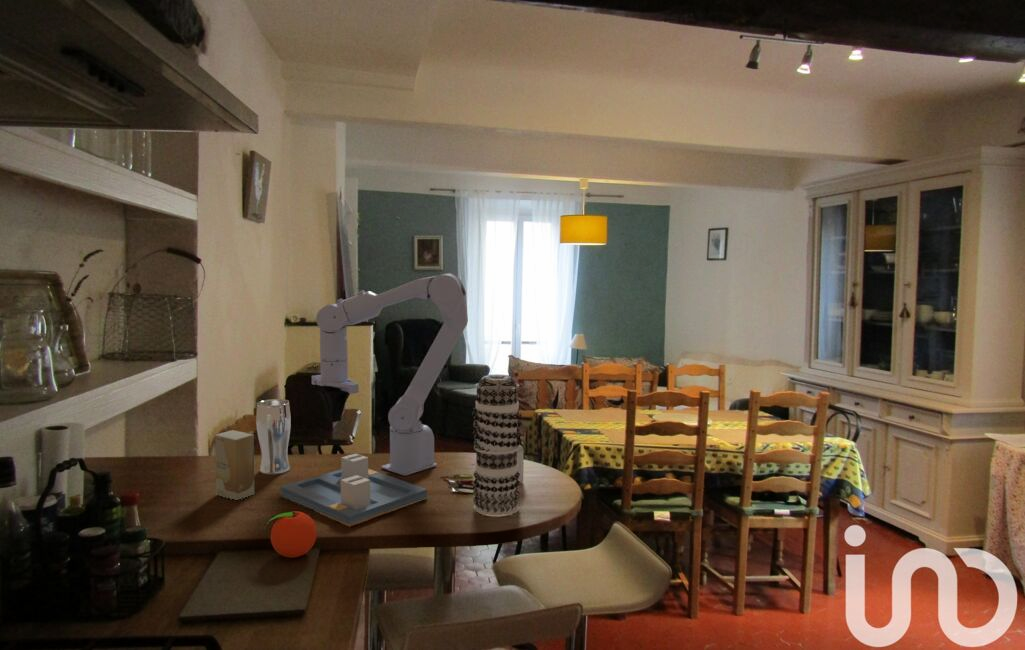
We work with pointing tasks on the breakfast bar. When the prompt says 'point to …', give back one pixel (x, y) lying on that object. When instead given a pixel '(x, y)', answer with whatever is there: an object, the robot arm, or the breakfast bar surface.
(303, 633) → the breakfast bar surface
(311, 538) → the clementine
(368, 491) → the white striped block
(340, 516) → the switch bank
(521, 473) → the white rounded block
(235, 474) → the skincare box
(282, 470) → the beer glass
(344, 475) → the white block
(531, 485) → the breakfast bar surface
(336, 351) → the robot arm
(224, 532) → the breakfast bar surface
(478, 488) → the decorative candle
